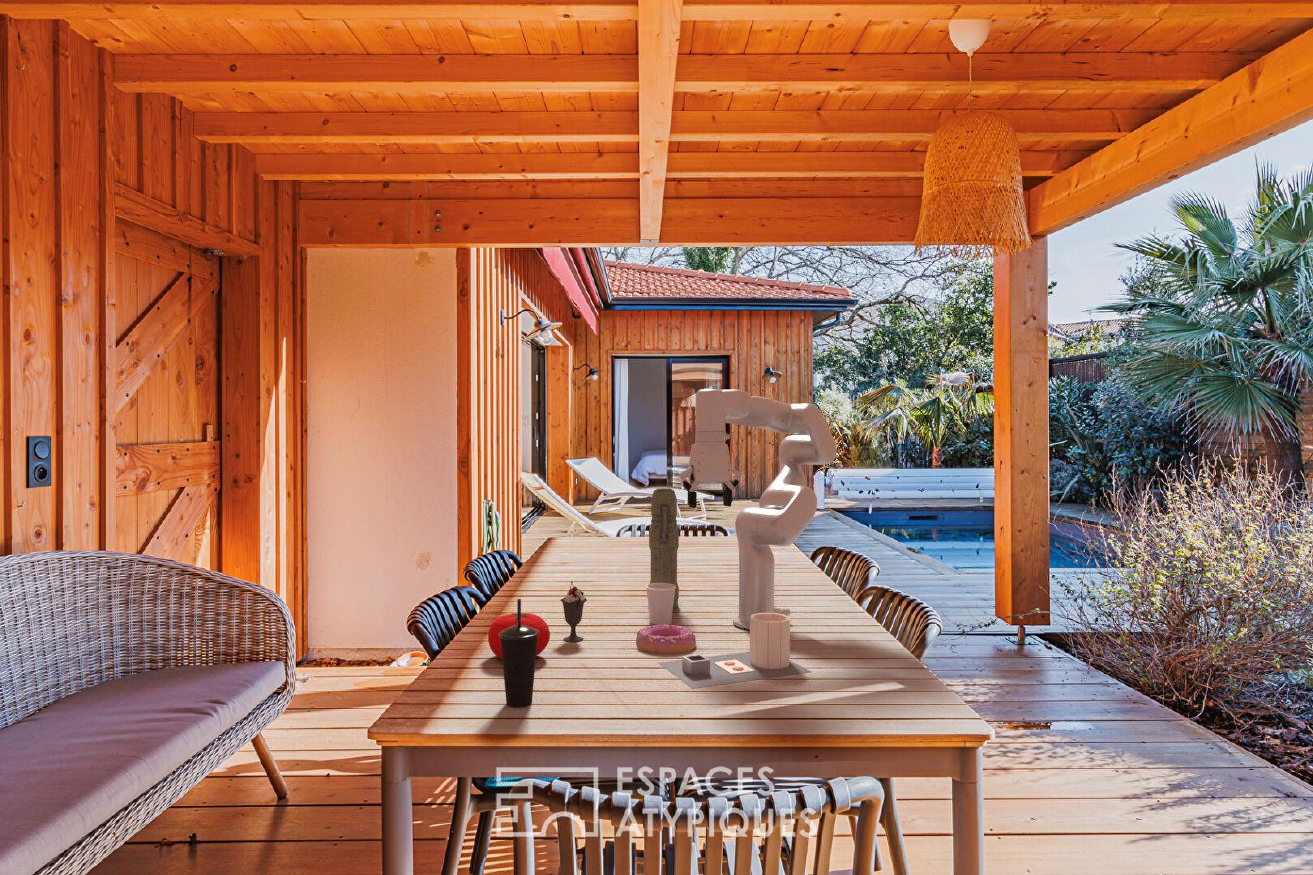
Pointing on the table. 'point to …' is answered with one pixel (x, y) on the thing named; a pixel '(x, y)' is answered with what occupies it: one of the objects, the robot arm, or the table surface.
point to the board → (730, 671)
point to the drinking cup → (519, 661)
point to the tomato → (511, 620)
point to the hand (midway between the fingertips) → (710, 506)
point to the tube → (770, 640)
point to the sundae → (573, 611)
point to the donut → (665, 639)
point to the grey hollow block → (696, 665)
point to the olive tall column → (664, 539)
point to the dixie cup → (660, 602)
